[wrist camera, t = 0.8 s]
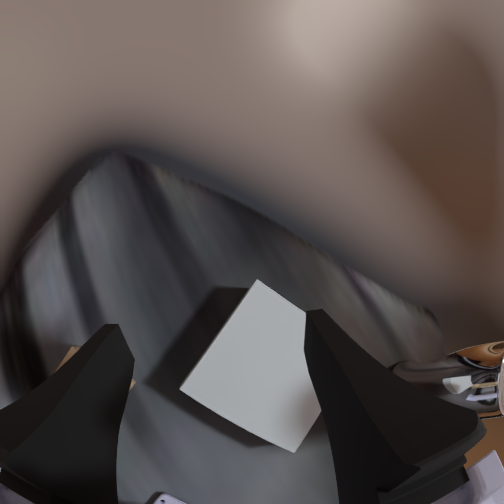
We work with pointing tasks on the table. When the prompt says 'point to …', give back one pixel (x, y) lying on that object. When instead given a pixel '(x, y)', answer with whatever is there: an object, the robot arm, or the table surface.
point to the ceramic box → (259, 370)
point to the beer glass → (463, 378)
